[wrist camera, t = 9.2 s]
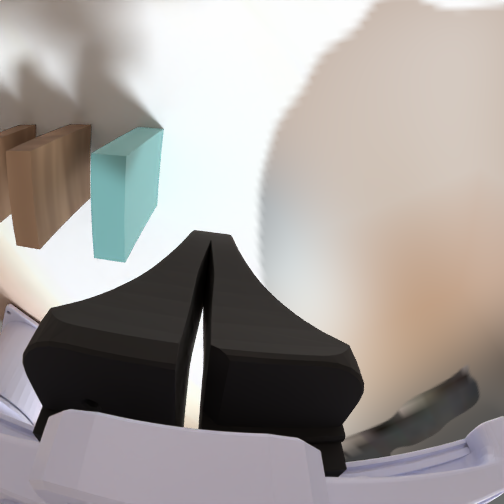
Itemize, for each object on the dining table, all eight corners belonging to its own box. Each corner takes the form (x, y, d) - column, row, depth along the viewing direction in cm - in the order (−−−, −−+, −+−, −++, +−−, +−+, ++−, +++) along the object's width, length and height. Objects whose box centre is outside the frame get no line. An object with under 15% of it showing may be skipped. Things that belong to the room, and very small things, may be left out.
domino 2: (91, 124, 17) (30, 151, 11) (90, 197, 20) (39, 249, 14) (70, 124, 17) (5, 150, 11) (70, 196, 20) (16, 245, 13)
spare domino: (163, 128, 18) (126, 156, 12) (156, 205, 20) (125, 262, 14) (138, 126, 18) (91, 153, 12) (133, 202, 20) (94, 257, 14)
